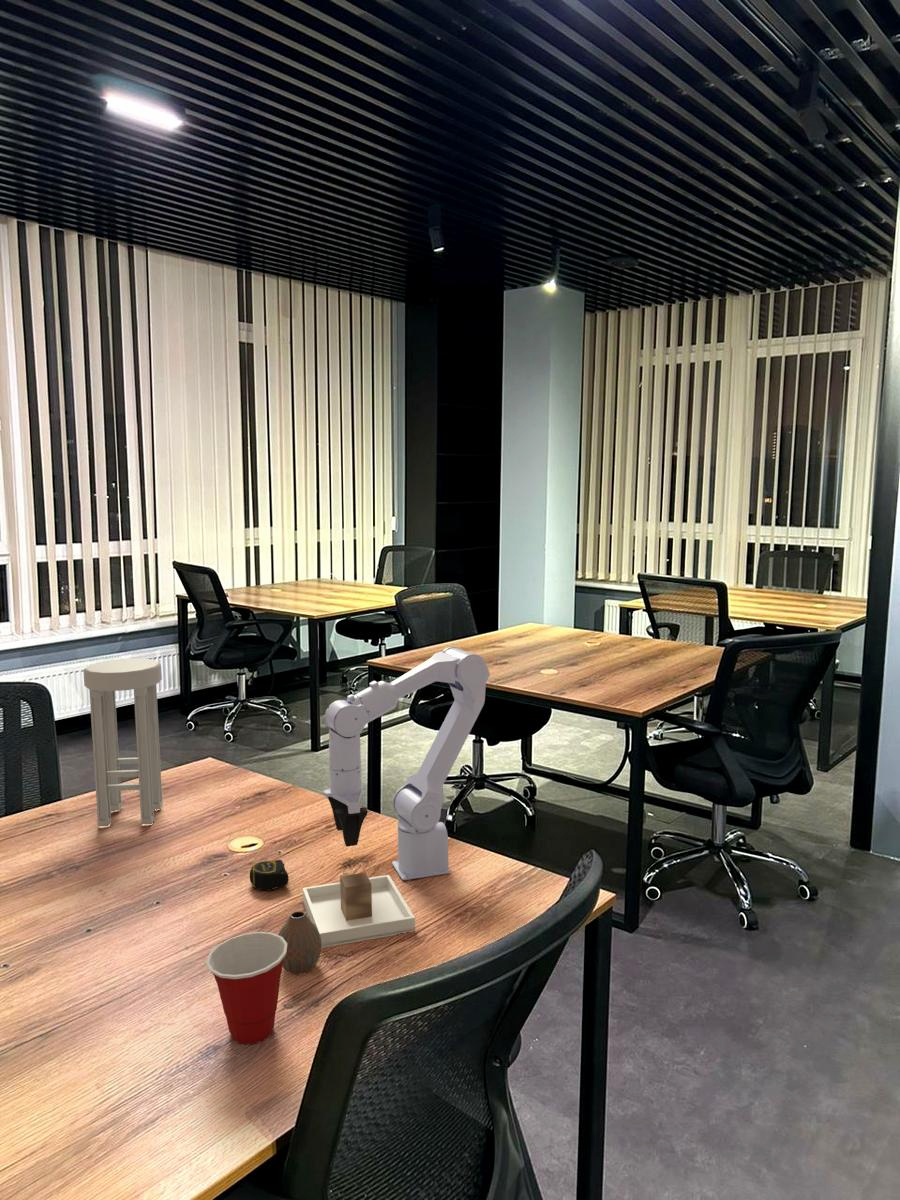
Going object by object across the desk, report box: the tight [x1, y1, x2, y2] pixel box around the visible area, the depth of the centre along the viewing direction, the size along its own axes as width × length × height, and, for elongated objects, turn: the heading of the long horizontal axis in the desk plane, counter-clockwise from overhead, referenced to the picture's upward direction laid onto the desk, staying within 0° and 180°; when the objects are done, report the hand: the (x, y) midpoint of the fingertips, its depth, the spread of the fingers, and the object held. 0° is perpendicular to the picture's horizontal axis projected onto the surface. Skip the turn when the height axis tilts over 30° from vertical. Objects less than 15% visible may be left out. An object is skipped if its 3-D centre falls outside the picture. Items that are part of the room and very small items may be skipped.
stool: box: [83, 657, 164, 827], centre depth 196 cm, size 16×16×35 cm
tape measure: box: [249, 859, 290, 891], centre depth 165 cm, size 7×7×4 cm
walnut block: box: [339, 872, 372, 921], centre depth 153 cm, size 4×4×6 cm
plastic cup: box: [205, 931, 287, 1045], centre depth 120 cm, size 11×11×12 cm
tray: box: [302, 874, 416, 949], centre depth 153 cm, size 16×17×2 cm
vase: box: [278, 910, 322, 975], centre depth 137 cm, size 7×7×9 cm
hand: (346, 837), depth 163 cm, fingers open, 7 cm apart
